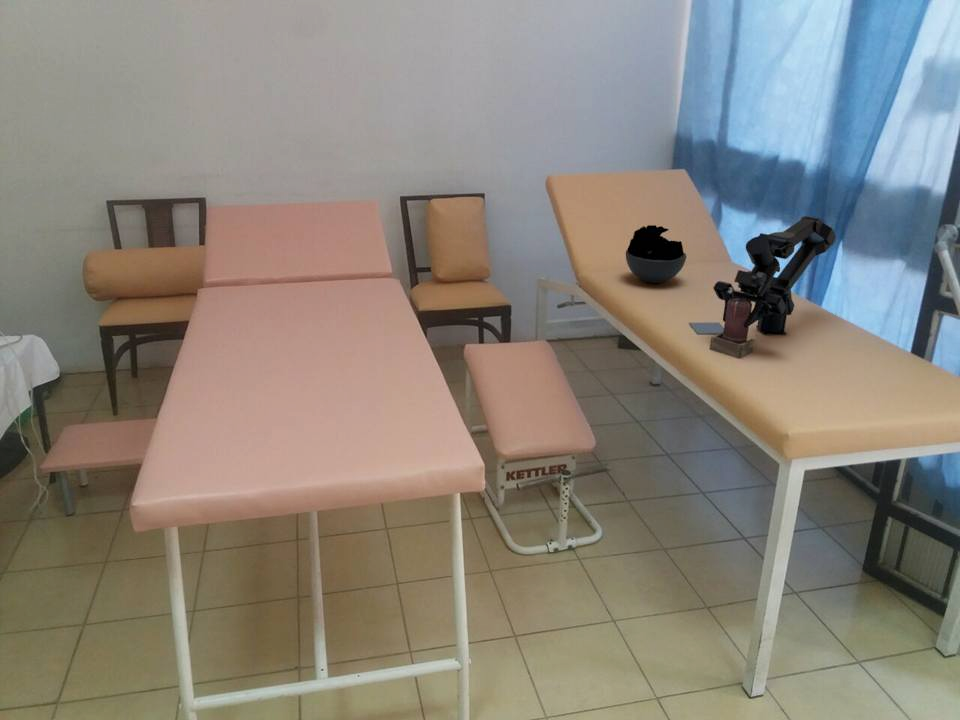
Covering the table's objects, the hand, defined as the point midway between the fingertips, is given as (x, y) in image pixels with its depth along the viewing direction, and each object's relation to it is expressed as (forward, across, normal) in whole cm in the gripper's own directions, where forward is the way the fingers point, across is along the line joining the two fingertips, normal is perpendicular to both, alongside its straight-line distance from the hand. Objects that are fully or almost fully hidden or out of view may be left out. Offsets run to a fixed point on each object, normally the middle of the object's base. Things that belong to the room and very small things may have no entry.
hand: (734, 324), depth 205 cm
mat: (-2, -13, +13) cm, 18 cm away
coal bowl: (-21, -51, +32) cm, 63 cm away
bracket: (+4, 0, +6) cm, 8 cm away
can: (+4, 0, +6) cm, 8 cm away
